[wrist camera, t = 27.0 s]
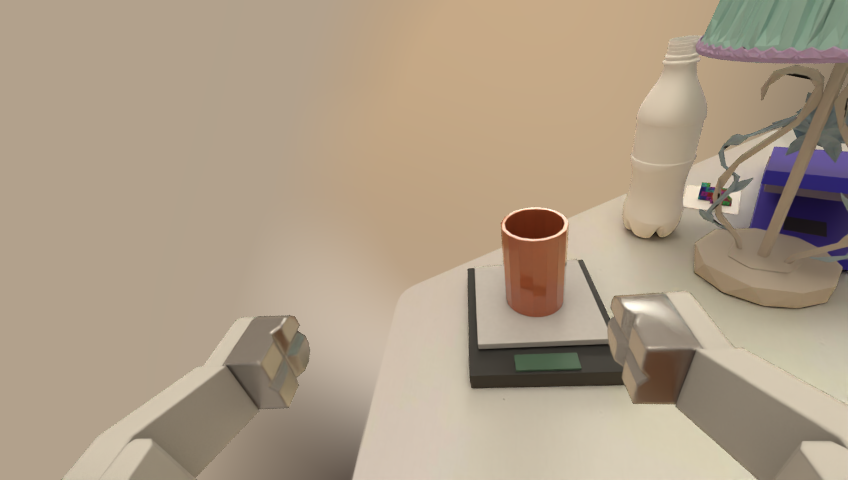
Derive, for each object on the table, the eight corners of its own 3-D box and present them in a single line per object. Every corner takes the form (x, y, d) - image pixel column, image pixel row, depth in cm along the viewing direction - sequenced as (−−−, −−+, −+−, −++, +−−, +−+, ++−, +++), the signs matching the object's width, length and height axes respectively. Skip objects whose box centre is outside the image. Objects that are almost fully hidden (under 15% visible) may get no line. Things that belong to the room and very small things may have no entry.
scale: (471, 388, 36) (468, 369, 34) (469, 279, 50) (466, 262, 48) (631, 384, 33) (636, 364, 32) (581, 271, 48) (583, 253, 46)
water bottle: (678, 245, 48) (732, 38, 35) (619, 240, 52) (647, 48, 38) (675, 219, 54) (721, 29, 40) (621, 215, 57) (647, 38, 43)
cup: (509, 319, 39) (504, 244, 33) (503, 281, 44) (498, 211, 39) (570, 315, 38) (576, 237, 32) (556, 277, 43) (559, 204, 38)
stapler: (737, 247, 45) (764, 176, 40) (760, 166, 62) (781, 108, 56) (875, 275, 38) (929, 193, 33) (860, 176, 54) (894, 110, 49)
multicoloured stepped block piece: (696, 201, 56) (700, 188, 55) (699, 193, 58) (702, 180, 57) (730, 206, 54) (735, 191, 52) (732, 197, 55) (737, 183, 54)
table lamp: (920, 266, 39) (1379, -365, 18) (869, 384, 30) (1699, -640, 9) (695, 209, 55) (798, -162, 34) (616, 274, 46) (689, -180, 24)
